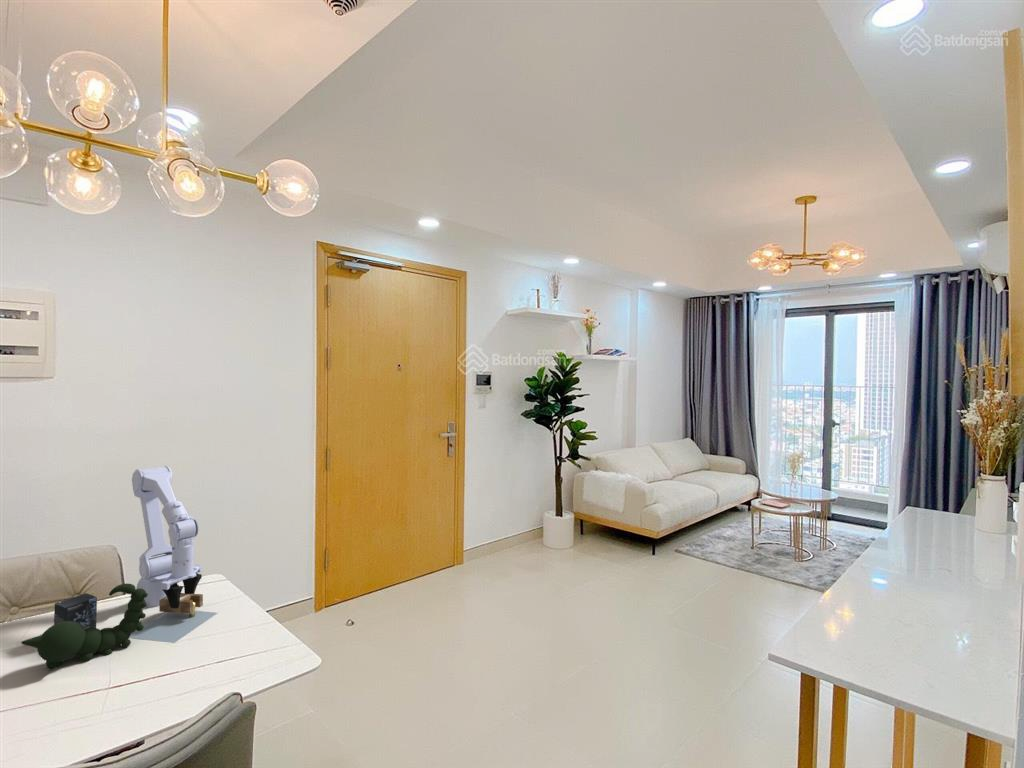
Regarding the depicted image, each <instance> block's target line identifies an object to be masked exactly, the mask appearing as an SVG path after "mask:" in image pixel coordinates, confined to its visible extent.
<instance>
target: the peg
mask: <svg viewBox="0 0 1024 768" xmlns="http://www.w3.org/2000/svg"><path fill="white" fill-rule="evenodd" d="M195 605H196V602H193V612H192V613H190V614H189V617H190V618H192V617H195V611H196V607H195Z"/></svg>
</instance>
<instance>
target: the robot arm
mask: <svg viewBox="0 0 1024 768" xmlns="http://www.w3.org/2000/svg"><path fill="white" fill-rule="evenodd" d="M173 478H174V477H173V470H172V469H171V468H170V466H168V465H164V466H158V467H150V468H142V469H138V468H137V469H135V470H134V471H133V473H132V477H131V484H132V486H131V487H132V491H133V495H134V497H136V498H139V500H140V505H141V510H142V511H141V512H142V517H143V518H142V519H143V522H144V523H143V524H144V529H145V536H146V541H147V542H146V543H147V549H146V550H145V551H144V552H143V553H141V555H140V556H139V561H138V562H139V564H138V565H139V566H138V571H139V576H140V577H141V578H140V579H139V580H138V582H137V584H136V587H135V588H136V589H139V588H141V589H144V590H145V591H146V593H147V594H148V595H147V597H146V598H144V599H145V602H146V603H147V605H146V607H151V608H152V607H153V608H154V607H159V600H161V599H162V598H164V597H166V596H167V598H168V600H169V604H170V607H171V608H178V607H179V602H180V595H181V593H182V592H183V590H184V592H183V593H189V594H196V593H195V592H196V590H197V587H198V584H199V582H200V581H201V580H202V577H203V576H202V574H201V573H202V571H203V565H202V564H201V565H200V564H195V565H194V563H195V562H194V561H195V558H194V557H195V555H194V554H195V537H197V536H198V534H199V523H198V521H197V519H196V518H195V517H193V516H192V515H189V514H188V512H187V510H186V507H185V506H184V504H183V502H182V501H178V500H177V499H176V495H175V493H174V490H173V488H172V483H173ZM160 503H161V504H162V506H163V507H162V510H161V504H160ZM162 515H163V517H164V519H165V522H166V524H167V525H168V530H167V531H168V537H169V544H167V539H166V534H165V528H164V522H163V517H162ZM181 582H182V583H183V585H179V583H181Z"/></svg>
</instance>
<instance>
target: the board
mask: <svg viewBox="0 0 1024 768" xmlns="http://www.w3.org/2000/svg"><path fill="white" fill-rule="evenodd" d="M217 614H218V612H213V611H203V610H195V617H192V618H190V617H189V613H173V612H161V614H159V615H157V616H156V617H154V618H152V619H150V620H149V621H146V622H145V623H144V624H142V625H143V626H144V628H143V630H141V631H137V630H135V631H134V632H133V633H131V635H130V637H129V638H128V639H133V640H143V641H153V642H154V641H155V642H162V643H163V642H165V643H173V644H174V643H177V642H178V641H179V640H181V639H182V638H184V637H185V636H186V635H188V634H189V633H192V632H193V631H195V629H197V628H199V627H200V626H202V625H203V624H204V623H206V622H207V621H208V620H210V619H212V618H213V617H215V616H216V615H217Z"/></svg>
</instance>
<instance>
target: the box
mask: <svg viewBox="0 0 1024 768" xmlns="http://www.w3.org/2000/svg"><path fill="white" fill-rule="evenodd" d="M97 603H98V597H97V596H95V595H92V594H90V593H88V592H85V593H82V594H79V595H77V596H73V597H71V598H67V599H64V600H61V601H58V602H57V601H56V602H55V603H54V612H53V613H54V615H53V617H54V618H53V625H55V624H57V623H60V622H64V621H73V622H77V623H79V624H81V625H82V626H83V627H84V628H85V629H87V628H97V614H98V613H97V609H98V608H97V607H98V605H97Z"/></svg>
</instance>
